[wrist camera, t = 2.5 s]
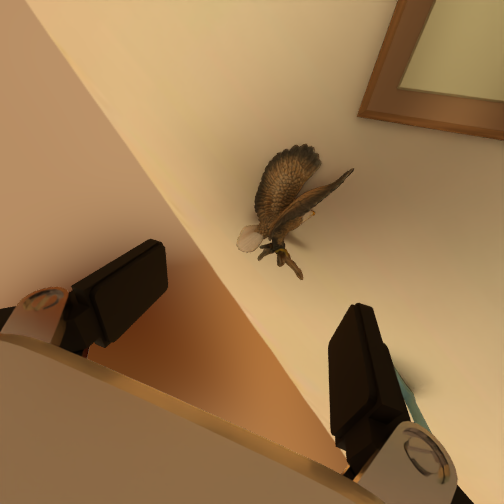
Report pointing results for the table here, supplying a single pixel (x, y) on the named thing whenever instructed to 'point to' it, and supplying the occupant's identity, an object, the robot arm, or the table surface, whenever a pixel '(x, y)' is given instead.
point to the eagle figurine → (285, 202)
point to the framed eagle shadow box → (441, 68)
